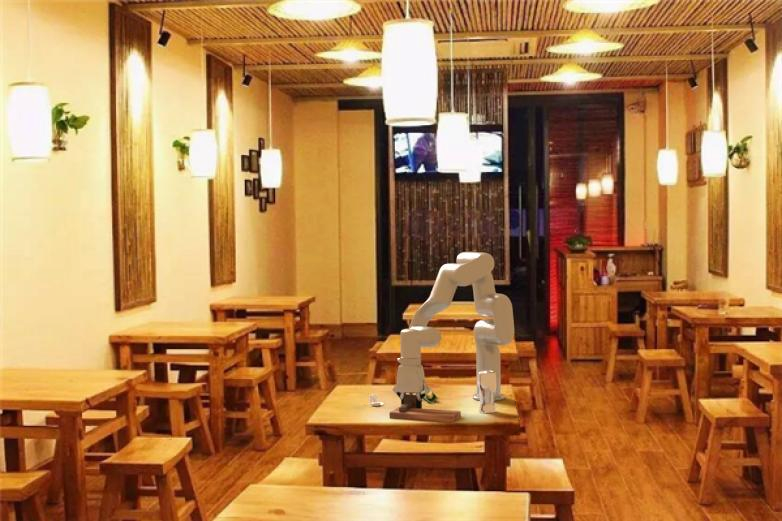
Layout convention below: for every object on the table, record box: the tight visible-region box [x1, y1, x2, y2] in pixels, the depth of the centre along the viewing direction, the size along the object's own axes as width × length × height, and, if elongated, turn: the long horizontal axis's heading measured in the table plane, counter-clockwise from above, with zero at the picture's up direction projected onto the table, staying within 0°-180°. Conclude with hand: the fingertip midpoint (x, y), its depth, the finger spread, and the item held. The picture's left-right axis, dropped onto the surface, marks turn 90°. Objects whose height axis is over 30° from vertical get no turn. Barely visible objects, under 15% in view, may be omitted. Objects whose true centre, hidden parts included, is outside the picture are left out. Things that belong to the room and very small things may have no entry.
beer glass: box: [478, 370, 496, 414], centre depth 363 cm, size 7×7×15 cm
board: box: [389, 406, 462, 423], centre depth 355 cm, size 10×24×2 cm, turn 69°
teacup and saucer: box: [368, 393, 385, 407], centre depth 380 cm, size 9×8×4 cm
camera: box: [399, 393, 417, 412], centre depth 360 cm, size 12×5×7 cm, turn 159°
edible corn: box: [422, 385, 438, 404], centre depth 388 cm, size 5×20×5 cm, turn 9°
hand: (411, 409), depth 365 cm, fingers closed on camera, 5 cm apart
